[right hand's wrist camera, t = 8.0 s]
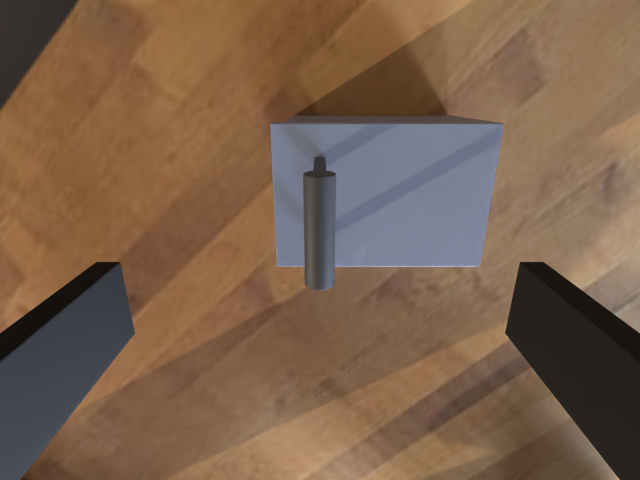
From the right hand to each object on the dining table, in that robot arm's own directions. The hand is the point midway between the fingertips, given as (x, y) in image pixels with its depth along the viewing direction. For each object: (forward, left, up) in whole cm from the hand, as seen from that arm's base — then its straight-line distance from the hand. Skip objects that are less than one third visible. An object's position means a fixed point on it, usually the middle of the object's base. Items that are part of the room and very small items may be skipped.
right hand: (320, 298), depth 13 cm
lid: (-2, -4, -14) cm, 14 cm away
